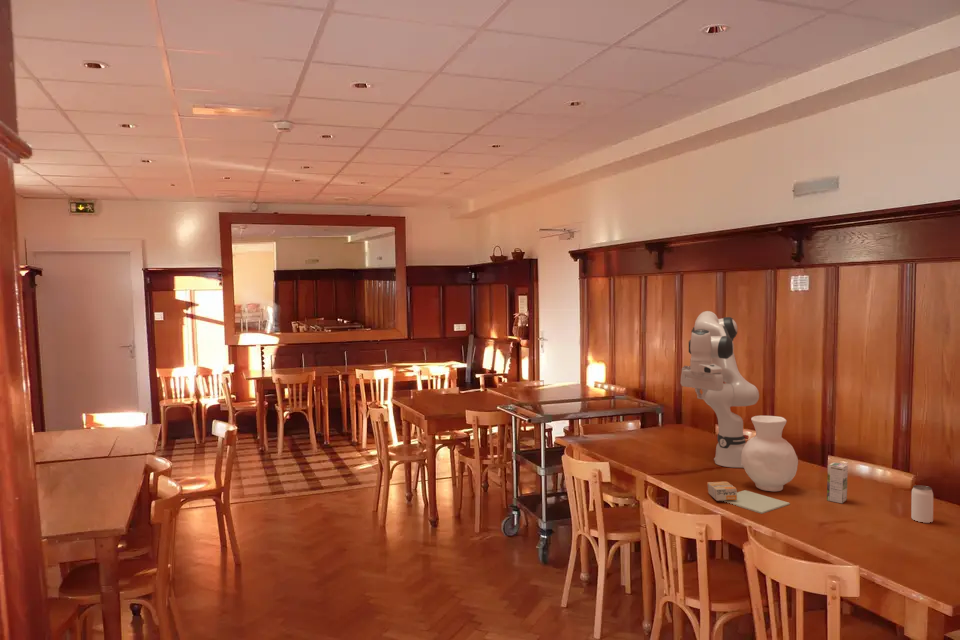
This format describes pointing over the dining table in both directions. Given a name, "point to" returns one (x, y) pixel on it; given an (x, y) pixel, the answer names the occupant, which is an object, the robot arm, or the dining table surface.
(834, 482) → the syrup box
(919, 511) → the can
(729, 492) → the supplement box
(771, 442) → the vase
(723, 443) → the robot arm
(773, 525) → the dining table surface
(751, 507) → the board
